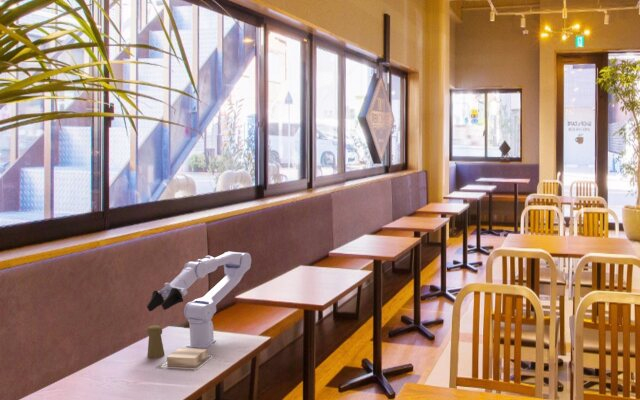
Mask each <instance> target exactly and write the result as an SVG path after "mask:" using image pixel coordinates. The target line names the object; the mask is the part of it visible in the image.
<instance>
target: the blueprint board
mask: <svg viewBox="0 0 640 400" xmlns="http://www.w3.org/2000/svg"><path fill="white" fill-rule="evenodd" d="M214 356H215V355H214V354H207V358H206V359H205V360H204V361H202V362H201V363H200V364H199V365H197V366H196V367H181V366H167V359H166V360H164V361H163V362H161V363H160V364H159V365H158V366H156V367H155V369H156V370H157V369H161V370H176V371H177V370H178V371H192V372H195V370H199V369H200V368H201V367H203V366H204V365H205V364H206V363H207V362H209V361H211V360H212V358H213V357H214Z"/></svg>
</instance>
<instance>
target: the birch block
mask: <svg viewBox="0 0 640 400" xmlns="http://www.w3.org/2000/svg"><path fill="white" fill-rule="evenodd" d="M207 355H208V349H207V348H198V347H179V348H178V349H176V350H174V351H173V352H172V353H171V354H169V355H167V356H166V360H167V366H181V367H196V366H197V365H199V364H200V363H201V362H202V361H204V360H205V359H206V358H207Z"/></svg>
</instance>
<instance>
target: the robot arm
mask: <svg viewBox="0 0 640 400" xmlns="http://www.w3.org/2000/svg"><path fill="white" fill-rule="evenodd" d="M251 264H252V256H251V254H250V253H249V252H238V251H237V252H236V251H225V252H224V253H223V254H219V255H218V256H216V257H213V256H211V255H205V258H202V259H201V258H198V259H196V260H195V261H188V262H186V263H184V265H183V268H182V270H181V271H180V273H179V274H178V275H177V276H176V277H174V279H173V280H172V281H171V282H165V283H164V286H163V288H162V289H160V290H153V292H152V294H151V298H150V300H149V302H148V303H147V305H146V308H147V310H148V311H149V312H152V311H154V310H155V309H157V308H158V307H160V306H161V307H162V309H163V310H164V311H166V310H168V309H170V308H172V306H175V305H176V304H177V305H178V304H179V303H182V302H184V299H183V297H185V296H186V295H187V294H188V293H189V292H188V289H189V288H190V287H191V286H192V284H194V283H195V282H196V281H197V280H198V279H204V278H205V277H206V276H207V274H209V273H210V274H211V273H212V272H215V271H216V270H217V269H218V267H221V266H223V269H224V270H223V271H224V272H223V273H224V277H223V278H222V279H221V280H220V281H218V282H217V283H216V284H215V286H213V287H212V288H211V289H210V290H209V291H208V292H206V293H205V295H204V296H202V297H198V298H196V299H193V300H192V301H189V302H187V303H186V304H185V306H184V309H183V315H184V317H185V318H186V319H187V322H189V323H188V324H189V340H190V343H188V344H186V346H185V348H197V349H207V348H208V347H209V346H210V345H212V344H214V343H215V342H216V341H217V339H215V338H214V323H213V321H212V319H213V317H214V315H215V314H216V312H217V304H218V303H220V302H221V301H222V300H223V299H224V298H225V297H226V296H227V295H228V294H229V293H230V292H231V291H232V290H233V289H234V288H235V287H236V286H237V285H238V284H239V283H240V282H241V280H242V279H243V277H244V275H245V274H246V273H247V272H248V271H249V270H250V269H251V266H252V265H251Z"/></svg>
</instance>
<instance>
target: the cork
mask: <svg viewBox="0 0 640 400" xmlns="http://www.w3.org/2000/svg"><path fill="white" fill-rule="evenodd" d="M146 333H147V336H148V341H147V342H148V343H147V344H148V345H147V358H148V359H160V358H163V357H165V350H164V344H163V339H162V334H163V328H162V326H160V325H158V324H157V325H155V324H154V325H150V326H148V327H147V329H146Z"/></svg>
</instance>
